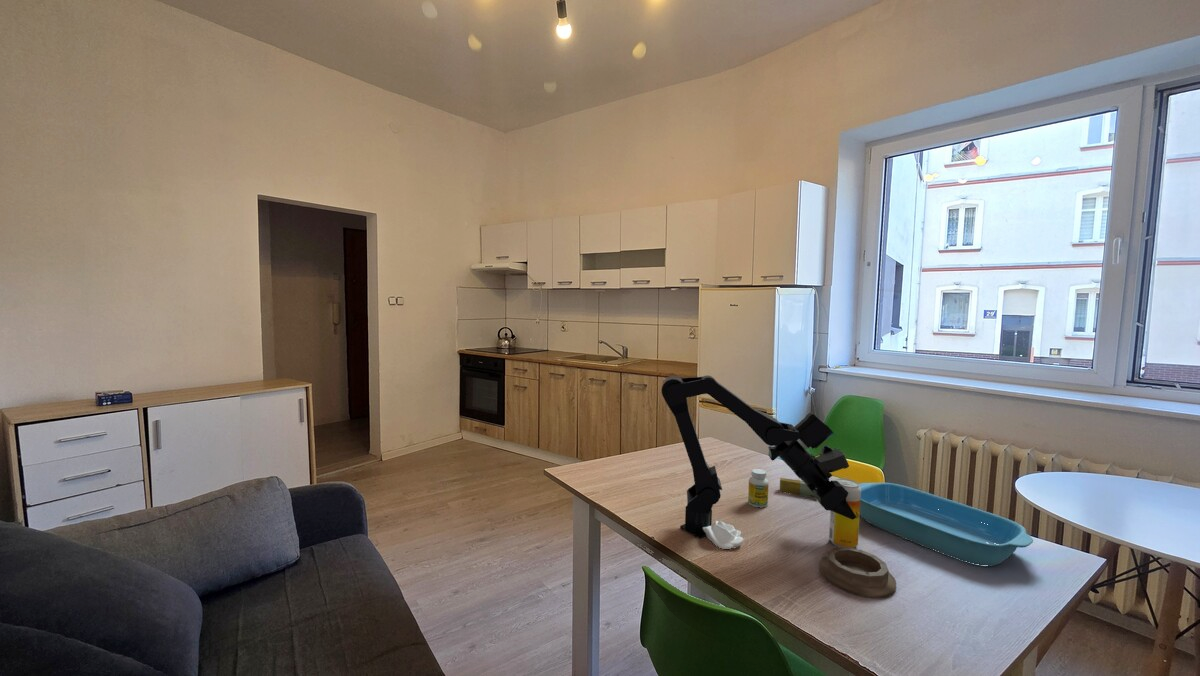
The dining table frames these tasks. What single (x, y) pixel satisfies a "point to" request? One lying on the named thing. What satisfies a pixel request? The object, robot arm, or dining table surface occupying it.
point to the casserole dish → (941, 523)
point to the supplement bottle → (758, 489)
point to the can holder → (857, 573)
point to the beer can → (842, 527)
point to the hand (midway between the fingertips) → (847, 509)
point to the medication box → (796, 487)
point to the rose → (723, 535)
